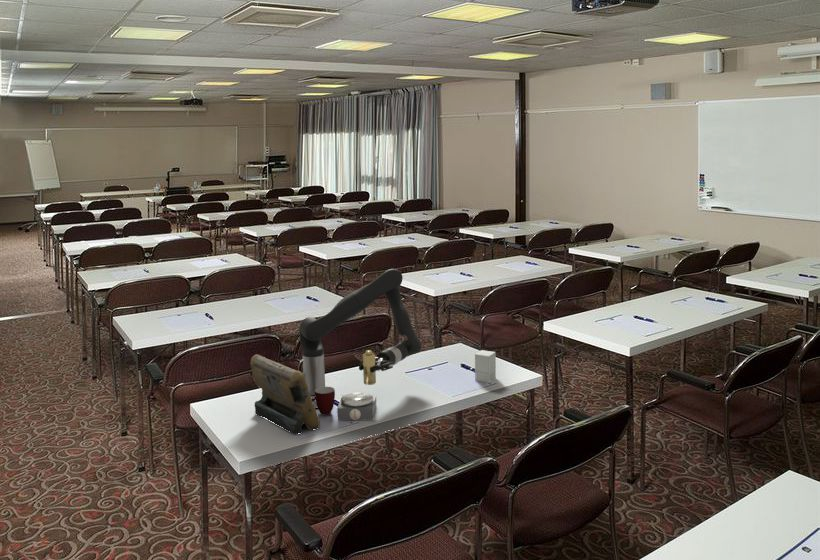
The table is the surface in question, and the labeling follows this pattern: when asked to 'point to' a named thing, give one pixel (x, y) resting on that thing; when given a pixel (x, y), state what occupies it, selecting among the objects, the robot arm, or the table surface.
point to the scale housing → (357, 411)
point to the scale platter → (357, 399)
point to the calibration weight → (367, 364)
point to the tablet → (283, 395)
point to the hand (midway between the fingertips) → (365, 369)
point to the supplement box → (485, 366)
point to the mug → (324, 399)
